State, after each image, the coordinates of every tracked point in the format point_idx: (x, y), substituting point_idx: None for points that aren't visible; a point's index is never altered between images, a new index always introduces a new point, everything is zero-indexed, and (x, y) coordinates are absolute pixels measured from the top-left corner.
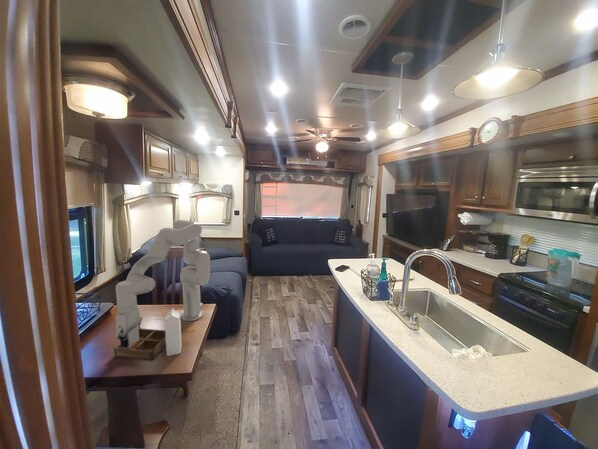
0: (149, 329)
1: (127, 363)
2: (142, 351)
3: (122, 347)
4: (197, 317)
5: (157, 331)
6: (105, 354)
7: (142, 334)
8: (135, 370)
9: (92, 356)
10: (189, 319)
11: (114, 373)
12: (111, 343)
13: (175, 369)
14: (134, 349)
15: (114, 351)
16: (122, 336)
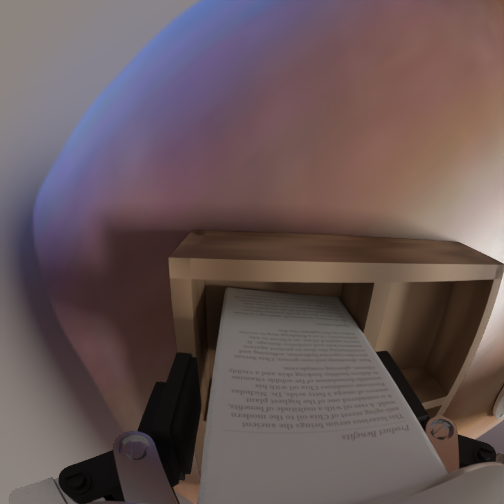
0: (470, 359)
1: (155, 360)
2: (198, 464)
3: (222, 315)
4: (499, 416)
5: (433, 411)
6: (216, 117)
7: (457, 283)
8: (130, 414)
9: (182, 39)
10: (501, 402)
11: (75, 336)
12: (364, 67)
13: (188, 496)
14: (202, 428)
15: (177, 248)
16: (204, 441)
